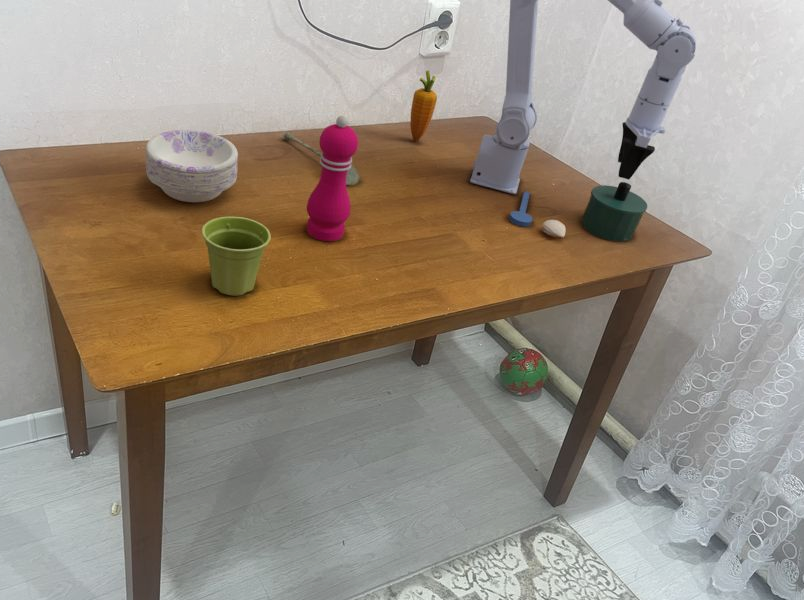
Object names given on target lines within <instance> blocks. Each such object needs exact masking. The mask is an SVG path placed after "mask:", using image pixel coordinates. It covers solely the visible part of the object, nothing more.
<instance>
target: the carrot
mask: <svg viewBox="0 0 804 600" xmlns="http://www.w3.org/2000/svg"><path fill="white" fill-rule="evenodd" d="M436 77H437V76H436V75H432V78H431V73H430V70H426V71H425V78H426V80H425V79H424V78H423V77H420V78H419V81H420V82H421V83H422V85H423V87H421V88H418V89H416V90H415V91H414V92H413V97H412V103H411V109H410V123H409V125H410V134H411V137H412V140H413V142H414V143H417V142H419V140H420V139H421V138H422V137H423V136H424V134H425V133H426V131H427V129H428V128H429V125H430V123H431V121H432V118H433V115H434V112H435V108H436V105H437V100H438V95H437V94H436V92H435V91H434V90H432V87H433V86H434V85H435V80H436Z"/></svg>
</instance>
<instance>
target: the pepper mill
mask: <svg viewBox="0 0 804 600" xmlns="http://www.w3.org/2000/svg"><path fill="white" fill-rule="evenodd" d="M348 124H349V120H348V118H347V116H345V115H339V116H338V117H337V118H336V121H335V123H333V124H330V125H328V126H326V127H325V128H324V129H323V130H322V132H321V134H320V136H319V140H318V141H319V143H318V144H319V148H320V150H321V151H322V152H321V153H322V154H321V157H320V159H319V164H320V165H321V173H320V177H319V181H318V182H317V184H316V186H315V187H314V189H313V190H312V192H311V193H310V195H309V197H308V198H307V199H308V200H307V203H306V213H307V215H308V217H309V218H308V219H307V224H306V232H307V234H308V235H309V236H310V237H311V238H313V239H316V240H318V241H322V242H336V241H338V240H340V239H342V238H343V237H344V233H345V228H346V227H345V226H346V224H345V222H346V221H348V219H349V218H350V215H351V207H352V206H351V200H350V196H349V193H348V188H347V185H346V175H347V171H348V170H349V169H350V168H351V165H352V163H353V158H352V157H353V156H354V155H355V154H356V152H357V151H358V148H359V137H358V135H357V133H356V131H355V130H354V129H353V128H352V127H350V126H349V125H348Z"/></svg>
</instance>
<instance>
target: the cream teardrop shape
mask: <svg viewBox="0 0 804 600" xmlns="http://www.w3.org/2000/svg"><path fill="white" fill-rule="evenodd" d="M541 230H542V232H543V233H545V234H546V235H548V236H551V237H557V238H564V237H565V235H566V226H565V224H564V223H562V222H560V221H559V220H557V219H548V220H546V221H544V222H543V223H542V227H541Z"/></svg>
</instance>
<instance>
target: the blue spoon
mask: <svg viewBox="0 0 804 600" xmlns="http://www.w3.org/2000/svg"><path fill="white" fill-rule="evenodd" d="M530 195H531V192H530V191H525V190H523V193H522V196H521V197H522V198H521V201H520V206H519V209H518V210H514V211H511V212H510V214H509V217H508V220H509V221H510V222H511V224H513V225H516V226H518V227H530V226H531V225H532V222H533V217H532V216H531V215H530V214H529V213H527V209H528V204H529V198H530Z"/></svg>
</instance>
